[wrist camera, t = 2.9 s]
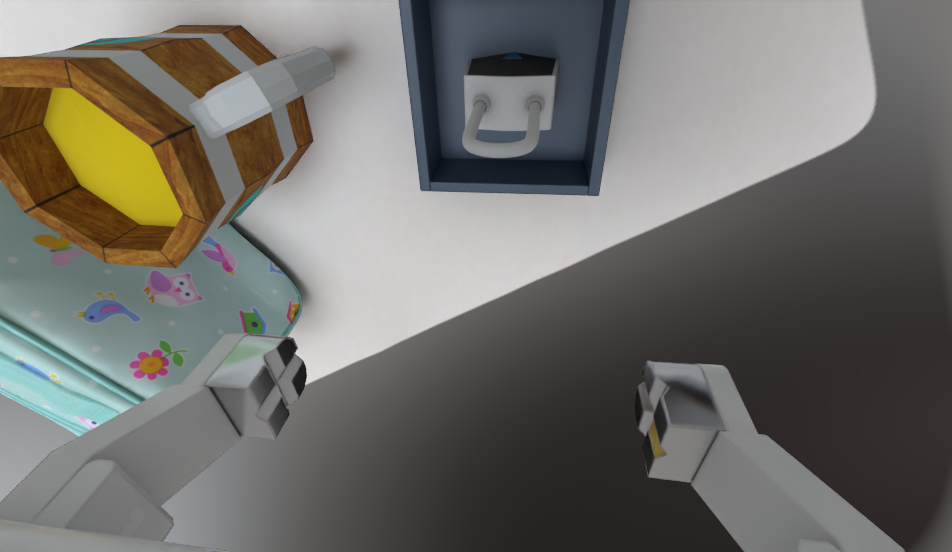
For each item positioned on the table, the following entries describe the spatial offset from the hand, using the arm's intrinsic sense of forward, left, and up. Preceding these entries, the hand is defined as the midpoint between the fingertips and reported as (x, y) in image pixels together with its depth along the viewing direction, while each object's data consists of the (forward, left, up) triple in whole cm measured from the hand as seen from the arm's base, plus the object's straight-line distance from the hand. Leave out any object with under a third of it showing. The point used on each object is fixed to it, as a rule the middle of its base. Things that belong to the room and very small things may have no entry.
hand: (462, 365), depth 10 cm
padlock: (0, 0, -28) cm, 28 cm away
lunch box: (+34, +15, -29) cm, 47 cm away
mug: (+21, +1, -29) cm, 36 cm away
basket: (0, 0, -29) cm, 29 cm away
